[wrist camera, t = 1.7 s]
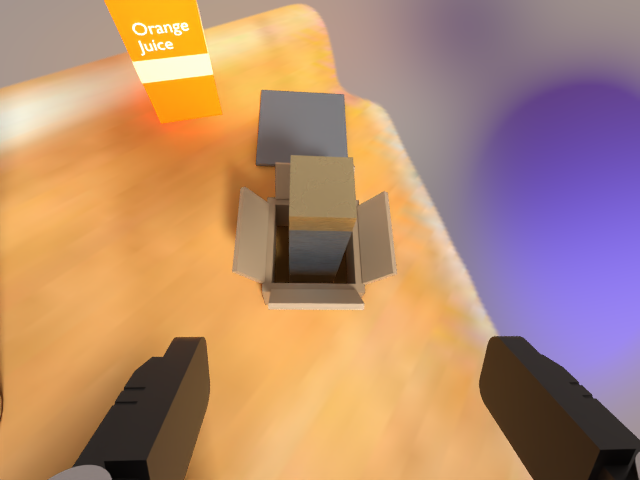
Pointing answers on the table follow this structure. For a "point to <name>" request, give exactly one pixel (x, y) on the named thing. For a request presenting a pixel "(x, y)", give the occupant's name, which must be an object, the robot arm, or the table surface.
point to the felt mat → (300, 126)
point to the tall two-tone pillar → (319, 216)
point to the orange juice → (169, 56)
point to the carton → (362, 268)
